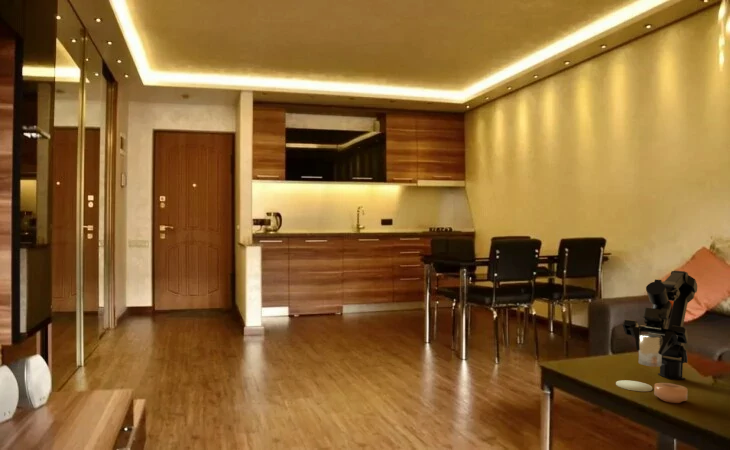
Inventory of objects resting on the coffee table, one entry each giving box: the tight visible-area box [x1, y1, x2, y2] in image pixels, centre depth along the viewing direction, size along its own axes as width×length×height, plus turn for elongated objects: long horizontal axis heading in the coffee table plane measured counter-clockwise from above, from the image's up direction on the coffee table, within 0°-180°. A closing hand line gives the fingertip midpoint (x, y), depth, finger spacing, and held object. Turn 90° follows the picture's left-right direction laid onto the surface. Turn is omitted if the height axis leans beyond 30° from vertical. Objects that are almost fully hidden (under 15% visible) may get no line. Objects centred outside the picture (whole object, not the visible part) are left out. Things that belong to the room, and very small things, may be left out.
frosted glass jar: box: [638, 333, 662, 367], centre depth 179 cm, size 7×7×9 cm
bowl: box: [653, 382, 688, 404], centre depth 172 cm, size 9×9×4 cm
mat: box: [615, 379, 653, 393], centre depth 185 cm, size 11×11×1 cm
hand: (648, 352), depth 178 cm, fingers closed on frosted glass jar, 7 cm apart
